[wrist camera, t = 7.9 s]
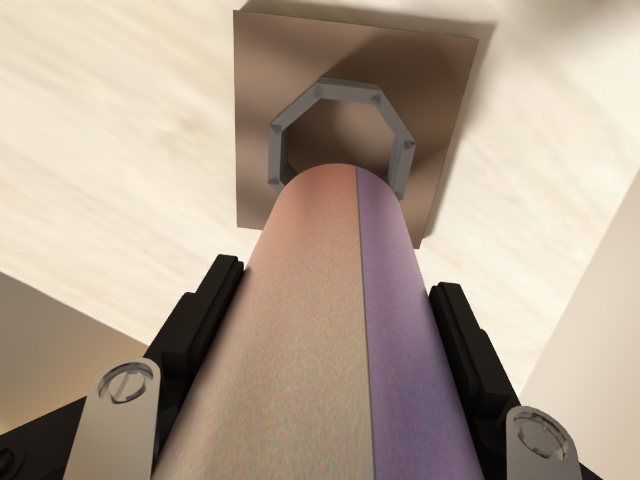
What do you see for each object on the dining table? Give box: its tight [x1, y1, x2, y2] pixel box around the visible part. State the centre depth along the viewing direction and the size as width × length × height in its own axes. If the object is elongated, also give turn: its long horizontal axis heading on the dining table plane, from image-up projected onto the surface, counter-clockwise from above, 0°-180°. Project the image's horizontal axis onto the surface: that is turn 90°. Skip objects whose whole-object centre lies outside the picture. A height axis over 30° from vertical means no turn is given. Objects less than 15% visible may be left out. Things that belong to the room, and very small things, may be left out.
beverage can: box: [150, 163, 485, 480], centre depth 10 cm, size 6×6×15 cm
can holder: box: [233, 10, 479, 249], centre depth 26 cm, size 16×16×5 cm
